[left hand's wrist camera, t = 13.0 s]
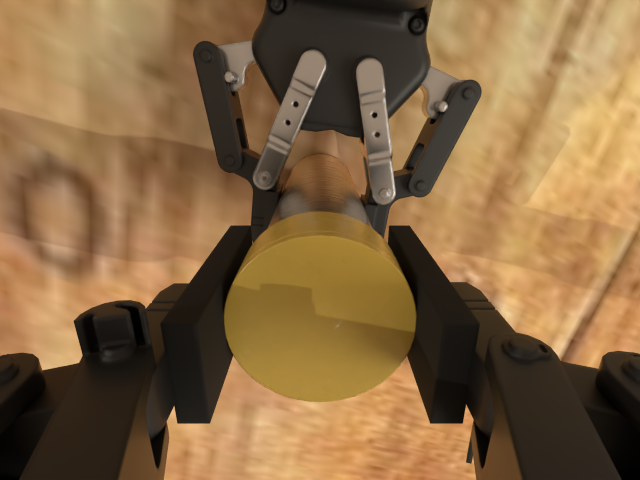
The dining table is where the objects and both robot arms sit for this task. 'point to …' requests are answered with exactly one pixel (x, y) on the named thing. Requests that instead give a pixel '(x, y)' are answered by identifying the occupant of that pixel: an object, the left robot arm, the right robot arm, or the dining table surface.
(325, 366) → the lid
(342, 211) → the tan cylinder
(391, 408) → the dining table surface
